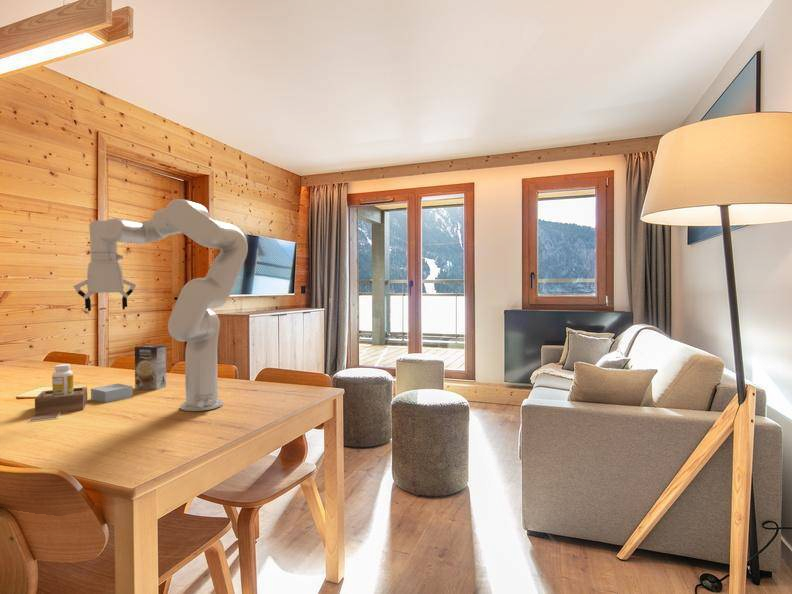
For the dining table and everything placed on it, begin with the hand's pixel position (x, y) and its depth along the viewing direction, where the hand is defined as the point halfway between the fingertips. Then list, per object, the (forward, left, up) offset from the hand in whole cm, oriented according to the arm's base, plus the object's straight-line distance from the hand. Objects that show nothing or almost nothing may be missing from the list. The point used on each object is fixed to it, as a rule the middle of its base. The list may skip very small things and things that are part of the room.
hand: (106, 310), depth 150 cm
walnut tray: (-1, +12, -31) cm, 33 cm away
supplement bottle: (-1, +12, -27) cm, 30 cm away
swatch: (-11, +15, -31) cm, 36 cm away
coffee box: (+17, -13, -31) cm, 38 cm away
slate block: (+6, -1, -31) cm, 32 cm away
